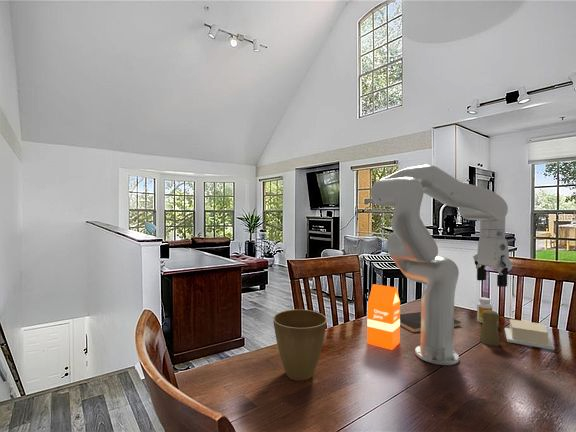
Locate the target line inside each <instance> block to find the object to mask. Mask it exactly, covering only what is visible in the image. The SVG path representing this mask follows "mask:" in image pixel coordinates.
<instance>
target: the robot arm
mask: <svg viewBox="0 0 576 432" xmlns="http://www.w3.org/2000/svg"><path fill="white" fill-rule="evenodd" d="M424 194H425V195H427V196H429V197H430V198H432V199H434V200H436V201H438V202H439V203H441V204H443V205H445V206H449V207H452V208H458V213H459V215H460V216H461V217H462V218H463V219H465V220H469V221H479V240H478V244H477V253H476V254H474V255H473V256H472V257H473V261H474V265H475V269H476V280H477V281H486V280H487V269H486V268H487V267H489V268H492V269H496V271H497V273H498V274H497V275H496V276H497V278H496V281H497V282H496V284H497V285H496V286H497V287H499V288H501V287H502V288H503V287H505V288H506V287H508V275H510V273H511V272H512V269H513V266H514V263H513V262H512V261H511V260H510V253H509V251H510V250H509V244H508V240H507V239H506V217H507V215H508V213H509V206H508V204H507V202H506V200H505V199H504V198H503V197H502V196H500V195H499V194H497V193H496V192H494V191H493V190H490V189H488V188H485V187H482V186H478V185H474V184H470V183H466V182H463V181H460V180H458V179H456V178H455V177H454V176H453V175H450V174H449V173H448V172H446V171H444V170H442V169H441V168H439V167H438V166H435V165H433V164H423V165H416V166H410V167H409V166H408V167H406V168H402V169H400V170H398V171H395V172H394V173H392V174H390V175H387V176H385V177H382V178H380V179H378V180H377V181H376V182H375V183H374V184H373V186H371V189H370V197H371V199H372V201H373V203H374V204H375V205H377V206H379V207H394V210H393V214H392V217H391V224H390V225H391V229H392V232H391V233H390V234H389V235H388V238H387V240H386V250H387V252H388V255H389V256H390V258H391V259H392V261H393V262H394V264H395V265H396V267H398V269H399V270H400V271H401V273H402V274H403V276H405V278H406V279H408V280H411V281H413V282H416V283H421V284H424V285H427V286H426V288H425V289H424V292H423V293H422V295H421V297H420V312H421V331H420V344H419V345H418V346H416V347H415V349H414V353H415V355H416V357H418V358H419V359H420V360H422V361H424V362H427V363H431V364H434V365H438V366H439V365H441V366H452V365H456V364H457V363H459V361H460V356H459V353H457V352H456V351H455V350H454V347H455V346H454V343H455V342H454V341H455V340H454V339H455V337H454V336H455V334H454V333H455V332H454V331H455V327H454V319H455V296H456V288H457V284H458V280H459V275H460V274H459V273H460V272H459V271H460V270H459V267H458V265H457V264H456V263H455V261H454V260H452V259H450V258H448V257H444V256H440V255H438V254H439V247H438V245H437V242H436V241H435V239H434V238H433V236H432V234H431V233H430V231H429V230H428V229H427V227H426V226H425V224H424V222H423V221H422V219H421V214H420V213H421V205H422V201H423V197H424Z"/></svg>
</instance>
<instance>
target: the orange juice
mask: <svg viewBox="0 0 576 432" xmlns="http://www.w3.org/2000/svg"><path fill="white" fill-rule="evenodd" d="M400 314H401V300H400V297H399V291H398V289H397V287H396V286H390V285H389V286H387V285H383V284H375V283H374V284H373V283H372V286H371V290H370V292H369V297H368V301H367V319H366V320H367V322H366V324H367V325H366V328H367V331H366V332H367V333H366V334H367V335H366V336H367V337H366V339H367V340H366V343H367V344H368V345H372V346H375V347H380V348H383V349H386V350H391V351H393V350H394V349H395V348H396V347H397V346H398V345H399V344H400V343H401V342H400V341H401V340H400V339H401V338H400V337H401V336H400V334H401V333H400V332H401V325H400Z"/></svg>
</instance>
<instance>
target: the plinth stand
mask: <svg viewBox="0 0 576 432" xmlns="http://www.w3.org/2000/svg"><path fill="white" fill-rule="evenodd" d="M504 333H505V337H506V341H507V342H508V343H513V344H518V345H524V346H528V347H535V348H541V349H547V350H553V351H555V346H554V344H553V342H552V341H551V339H550V337H549V332H548V330H547V328H546V326H545V325H544V323H539V322H532V321H526V320H519V319H518V320H517V319H509V328H508V327H504Z"/></svg>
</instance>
